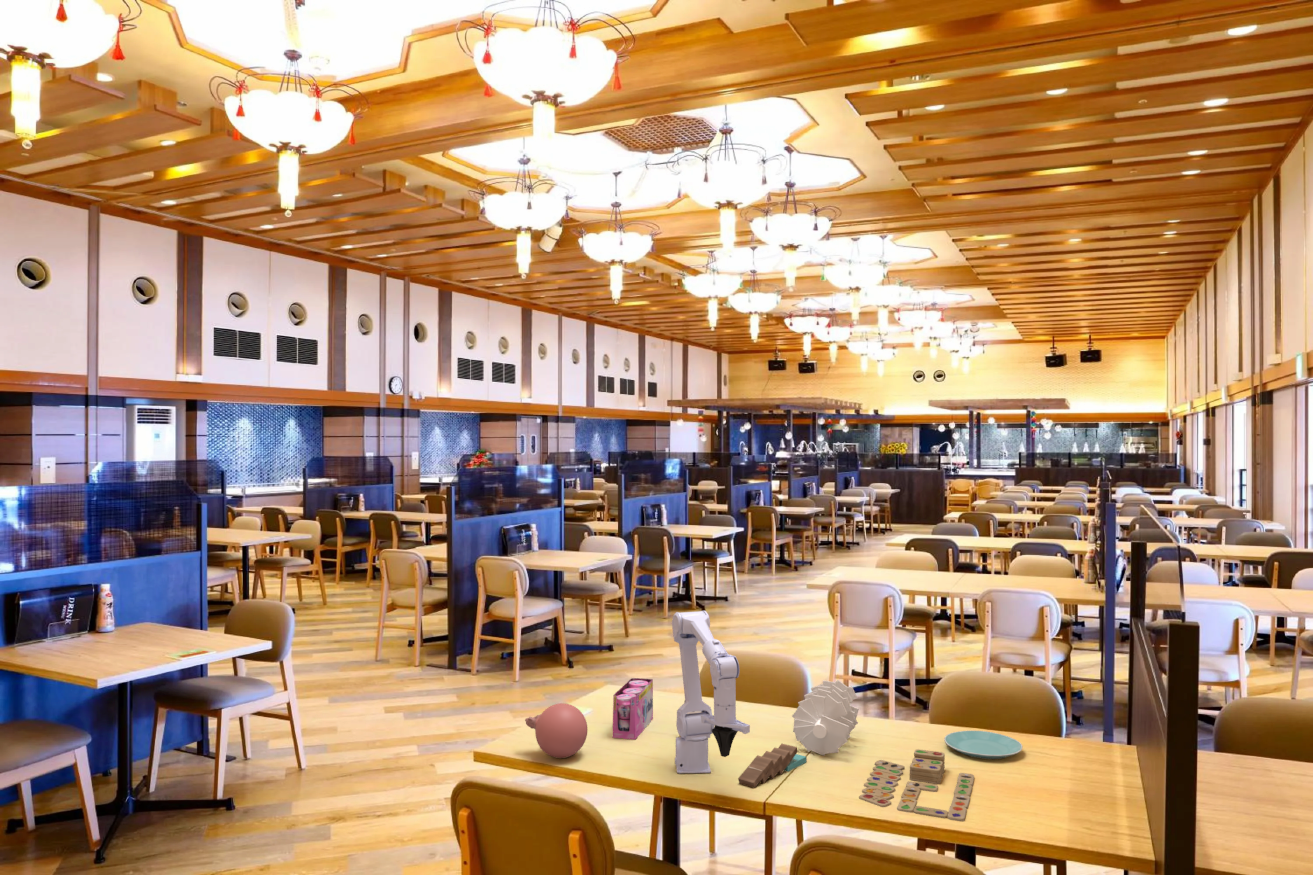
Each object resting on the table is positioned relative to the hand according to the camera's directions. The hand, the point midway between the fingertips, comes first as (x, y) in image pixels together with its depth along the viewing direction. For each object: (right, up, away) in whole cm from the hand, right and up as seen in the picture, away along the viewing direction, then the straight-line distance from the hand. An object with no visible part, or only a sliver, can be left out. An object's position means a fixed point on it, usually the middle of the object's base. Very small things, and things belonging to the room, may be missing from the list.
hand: (725, 755), depth 226 cm
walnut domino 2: (+9, -10, +10) cm, 17 cm away
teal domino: (+17, -10, +19) cm, 27 cm away
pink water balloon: (-48, -12, +31) cm, 58 cm away
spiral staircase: (+34, -12, +39) cm, 53 cm away
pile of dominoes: (+52, -11, +4) cm, 53 cm away
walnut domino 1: (+6, -10, +6) cm, 13 cm away
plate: (+81, -12, +34) cm, 88 cm away
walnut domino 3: (+12, -10, +13) cm, 20 cm away
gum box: (-26, -12, +56) cm, 63 cm away
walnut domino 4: (+15, -10, +16) cm, 24 cm away
